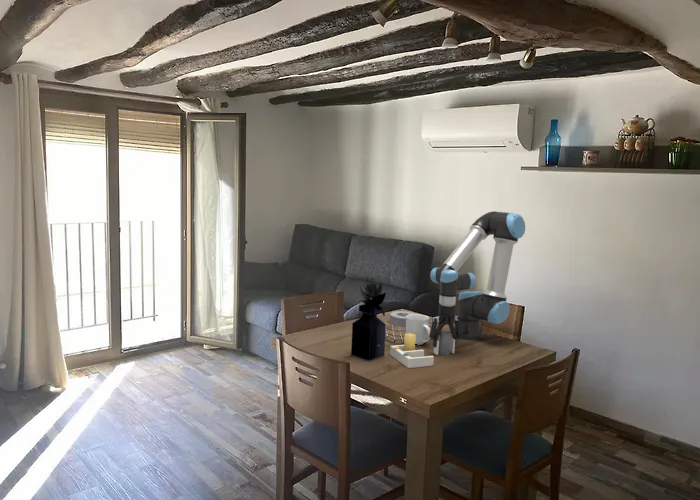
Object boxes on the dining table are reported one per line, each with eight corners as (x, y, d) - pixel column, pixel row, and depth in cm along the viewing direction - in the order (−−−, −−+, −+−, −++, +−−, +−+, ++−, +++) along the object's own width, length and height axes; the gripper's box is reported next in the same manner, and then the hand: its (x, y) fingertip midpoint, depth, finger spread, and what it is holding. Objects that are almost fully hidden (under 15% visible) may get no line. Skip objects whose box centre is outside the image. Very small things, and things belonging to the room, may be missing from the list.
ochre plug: (411, 354, 247) (412, 332, 246) (416, 357, 242) (417, 336, 241) (401, 355, 245) (402, 333, 244) (406, 358, 240) (407, 336, 239)
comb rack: (413, 352, 250) (414, 342, 249) (433, 365, 233) (433, 355, 232) (389, 354, 245) (390, 344, 245) (408, 368, 229) (408, 357, 228)
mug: (438, 347, 259) (439, 320, 257) (420, 350, 253) (421, 323, 251) (417, 338, 271) (419, 312, 269) (400, 341, 265) (401, 315, 263)
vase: (391, 357, 242) (395, 279, 237) (374, 362, 233) (378, 282, 229) (366, 349, 251) (370, 274, 247) (350, 354, 243) (353, 277, 238)
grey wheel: (423, 324, 299) (423, 315, 298) (406, 329, 288) (406, 319, 287) (401, 318, 309) (401, 309, 309) (383, 322, 298) (384, 313, 298)
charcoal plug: (445, 351, 253) (447, 330, 252) (451, 354, 248) (453, 333, 247) (436, 352, 251) (437, 331, 250) (442, 355, 246) (443, 334, 245)
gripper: (462, 301, 254) (458, 348, 257) (423, 303, 246) (420, 352, 249) (471, 305, 247) (467, 353, 250) (431, 307, 239) (428, 357, 242)
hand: (443, 352), depth 250 cm, fingers open, 8 cm apart
